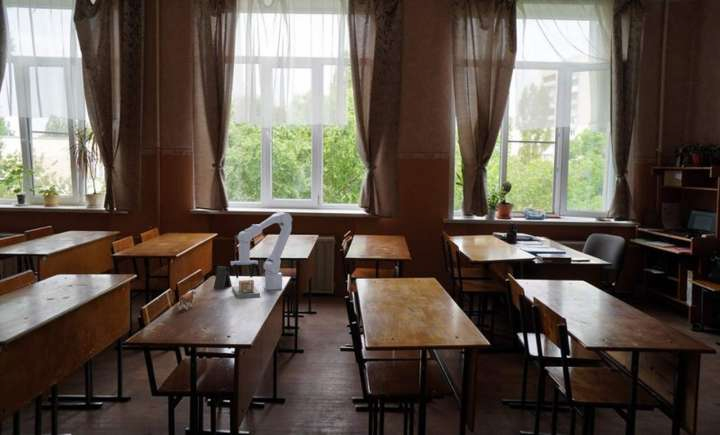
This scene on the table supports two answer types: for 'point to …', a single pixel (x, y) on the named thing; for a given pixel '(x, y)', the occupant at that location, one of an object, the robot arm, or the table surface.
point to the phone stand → (222, 278)
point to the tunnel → (246, 282)
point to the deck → (245, 293)
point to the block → (246, 287)
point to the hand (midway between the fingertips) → (244, 277)
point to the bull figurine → (187, 299)
